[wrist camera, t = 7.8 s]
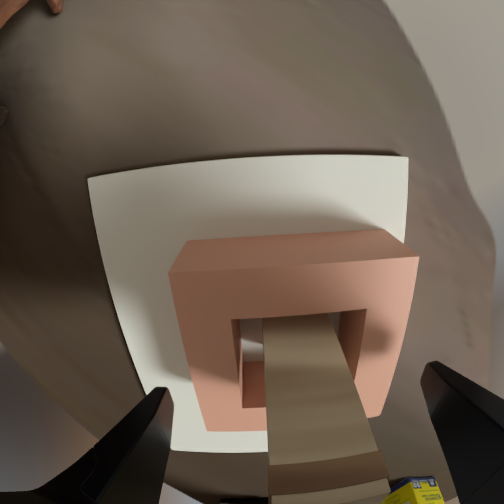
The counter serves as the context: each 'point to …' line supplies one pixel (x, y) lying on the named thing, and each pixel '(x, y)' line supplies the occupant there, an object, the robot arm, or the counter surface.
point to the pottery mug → (3, 7)
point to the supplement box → (415, 492)
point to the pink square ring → (289, 311)
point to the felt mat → (223, 226)
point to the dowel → (316, 419)
